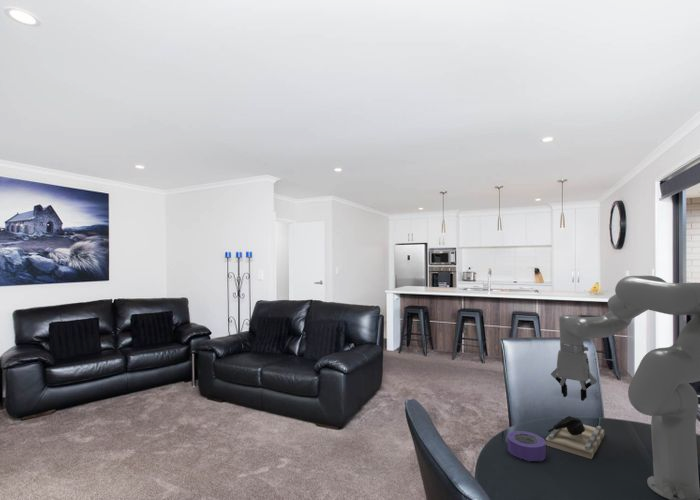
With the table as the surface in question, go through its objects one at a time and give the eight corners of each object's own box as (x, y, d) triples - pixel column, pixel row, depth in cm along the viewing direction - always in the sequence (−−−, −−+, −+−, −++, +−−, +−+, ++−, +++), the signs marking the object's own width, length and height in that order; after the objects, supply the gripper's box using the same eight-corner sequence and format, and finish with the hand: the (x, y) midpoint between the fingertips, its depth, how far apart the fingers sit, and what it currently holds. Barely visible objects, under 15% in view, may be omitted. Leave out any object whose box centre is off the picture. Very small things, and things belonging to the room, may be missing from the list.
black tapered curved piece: (543, 425, 134) (572, 411, 133) (553, 443, 134) (582, 428, 133) (550, 433, 129) (581, 418, 128) (561, 452, 128) (592, 437, 128)
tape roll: (536, 466, 115) (535, 450, 116) (501, 452, 124) (501, 437, 125) (551, 454, 123) (551, 439, 123) (517, 442, 132) (517, 428, 132)
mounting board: (591, 459, 119) (591, 449, 119) (545, 445, 129) (545, 436, 129) (604, 435, 136) (604, 426, 137) (562, 424, 146) (562, 416, 146)
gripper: (601, 350, 132) (603, 400, 130) (549, 343, 143) (551, 390, 142) (597, 353, 126) (599, 406, 125) (543, 346, 138) (545, 395, 137)
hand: (574, 397), depth 134 cm, fingers open, 5 cm apart
